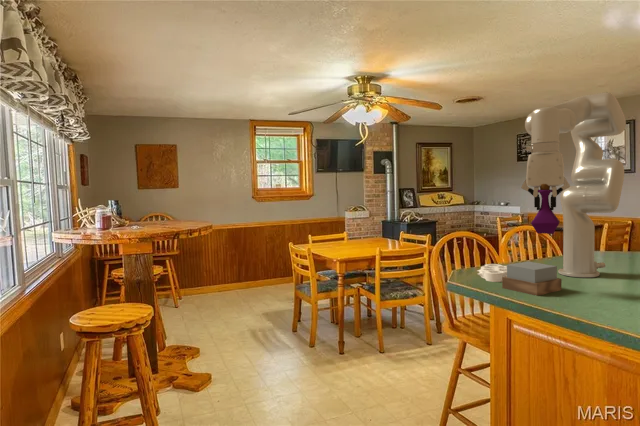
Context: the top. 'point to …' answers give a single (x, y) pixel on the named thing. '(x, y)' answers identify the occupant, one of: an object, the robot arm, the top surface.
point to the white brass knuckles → (493, 272)
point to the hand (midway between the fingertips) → (545, 209)
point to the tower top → (532, 272)
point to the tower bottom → (531, 286)
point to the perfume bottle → (545, 214)
